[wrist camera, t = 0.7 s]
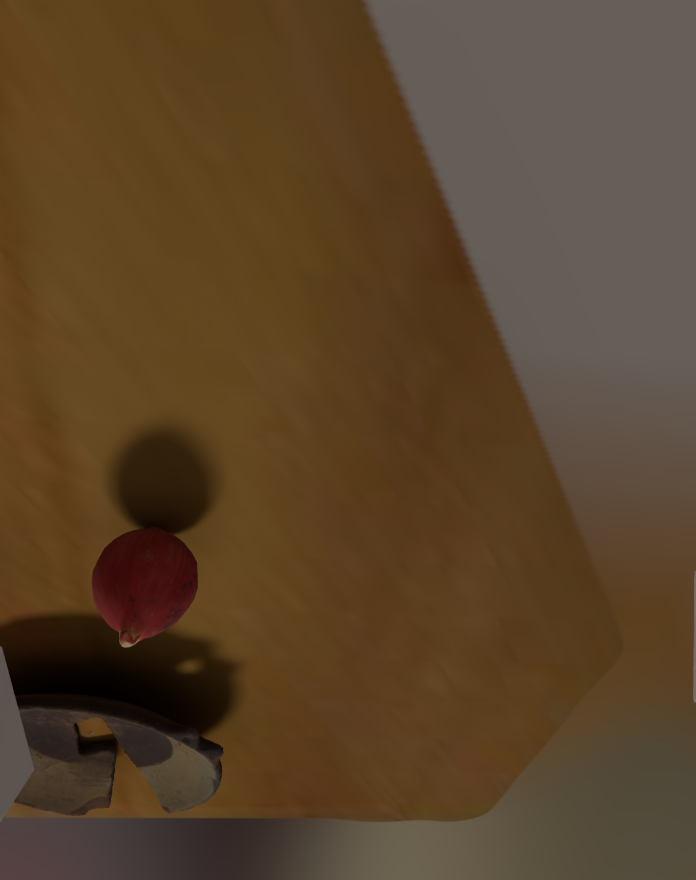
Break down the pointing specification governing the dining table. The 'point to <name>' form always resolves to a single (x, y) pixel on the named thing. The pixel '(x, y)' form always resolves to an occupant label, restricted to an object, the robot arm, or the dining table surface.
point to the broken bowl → (111, 754)
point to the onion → (144, 583)
